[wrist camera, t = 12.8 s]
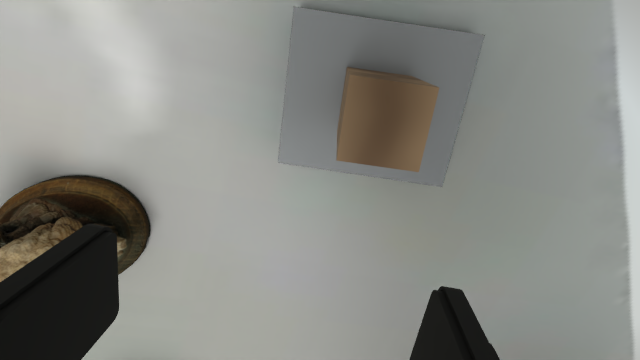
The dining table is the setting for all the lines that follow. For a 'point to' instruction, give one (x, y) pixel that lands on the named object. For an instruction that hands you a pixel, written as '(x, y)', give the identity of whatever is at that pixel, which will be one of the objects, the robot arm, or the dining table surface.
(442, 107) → the slate platform
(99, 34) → the dining table surface
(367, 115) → the walnut block
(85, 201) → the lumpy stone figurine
